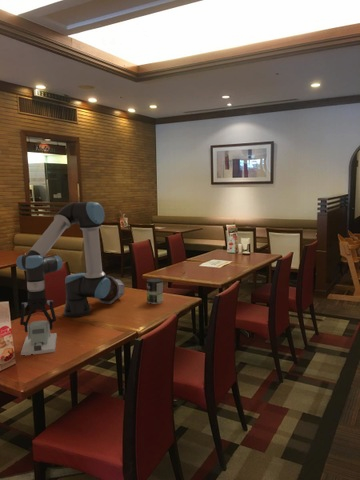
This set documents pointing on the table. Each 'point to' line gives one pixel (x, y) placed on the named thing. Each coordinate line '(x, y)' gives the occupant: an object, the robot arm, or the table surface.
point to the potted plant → (113, 291)
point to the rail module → (39, 332)
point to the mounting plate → (39, 346)
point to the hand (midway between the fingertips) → (39, 337)
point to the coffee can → (155, 290)
